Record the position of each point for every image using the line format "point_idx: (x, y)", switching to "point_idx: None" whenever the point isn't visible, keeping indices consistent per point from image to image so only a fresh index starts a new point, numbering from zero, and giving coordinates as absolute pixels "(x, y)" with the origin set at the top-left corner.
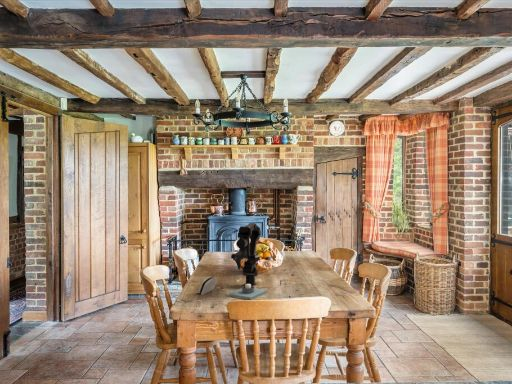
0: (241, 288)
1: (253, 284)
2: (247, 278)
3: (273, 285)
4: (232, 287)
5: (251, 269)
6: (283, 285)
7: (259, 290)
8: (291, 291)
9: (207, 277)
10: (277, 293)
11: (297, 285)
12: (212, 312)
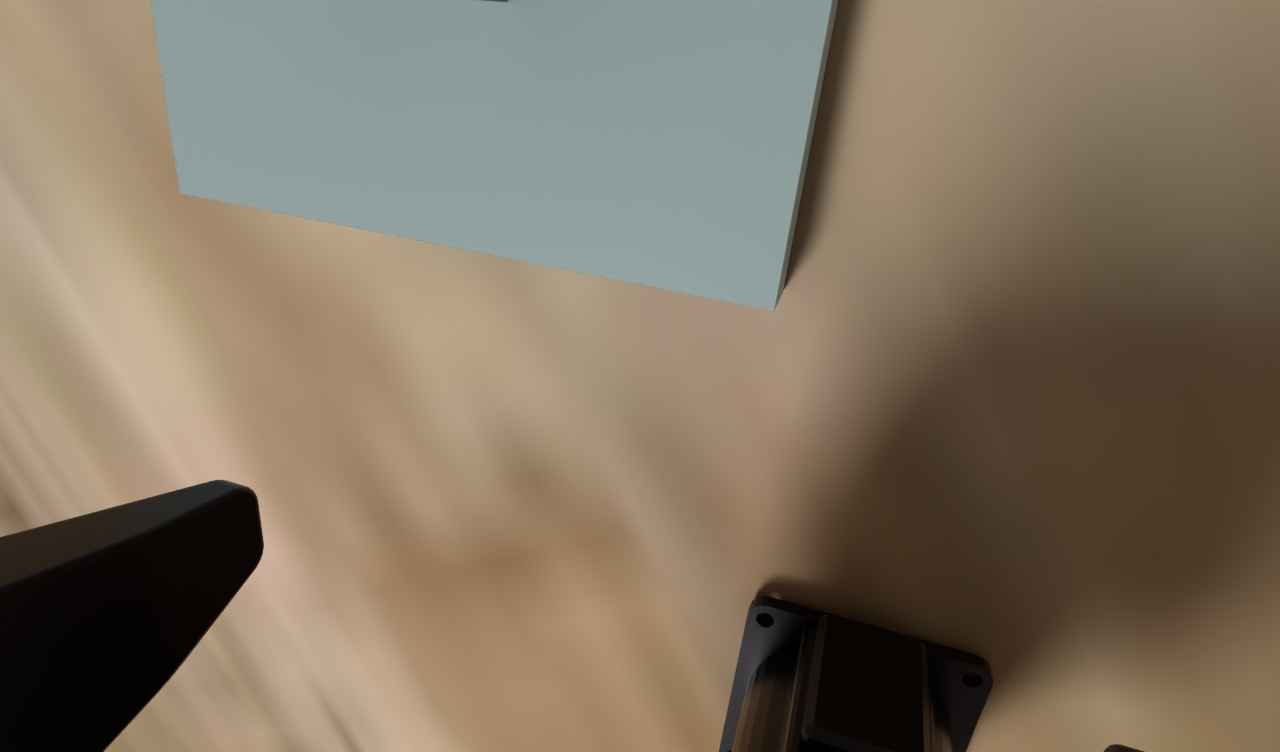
0: (810, 98)
1: (745, 663)
2: (864, 749)
3: (416, 696)
4: (1255, 357)
5: (90, 516)
6: (294, 715)
7: (293, 113)
8: (12, 424)
9: None
10: (71, 225)
11: (156, 736)
12: None
